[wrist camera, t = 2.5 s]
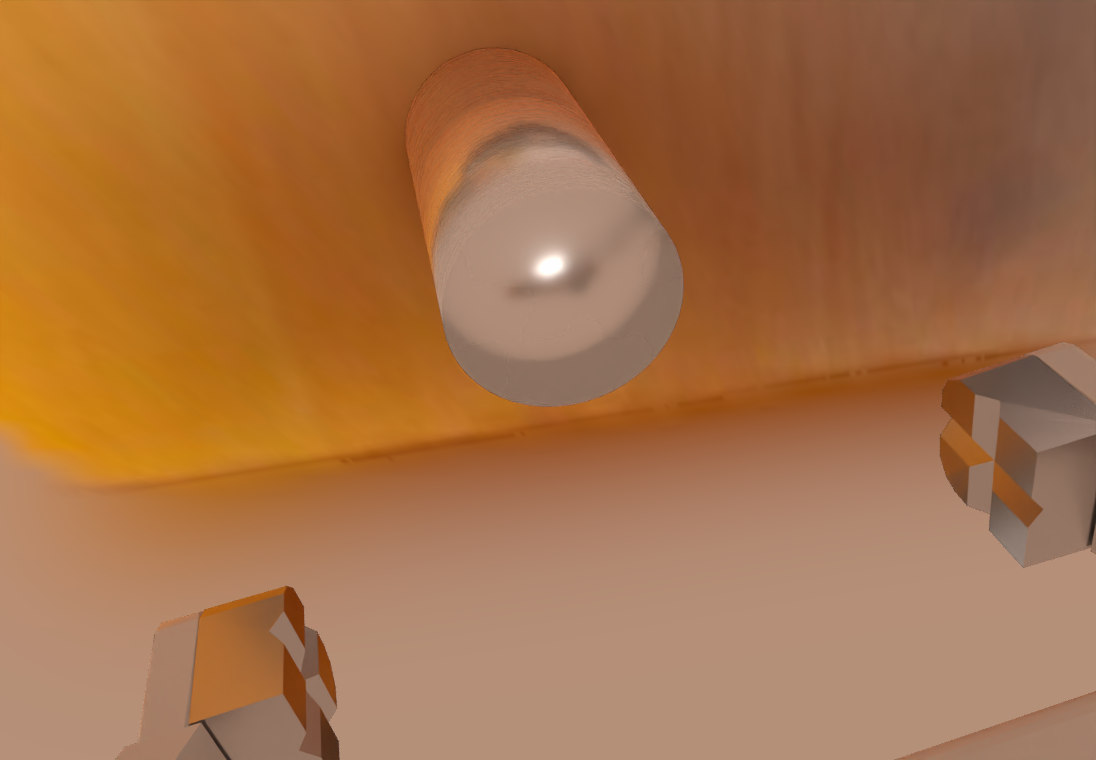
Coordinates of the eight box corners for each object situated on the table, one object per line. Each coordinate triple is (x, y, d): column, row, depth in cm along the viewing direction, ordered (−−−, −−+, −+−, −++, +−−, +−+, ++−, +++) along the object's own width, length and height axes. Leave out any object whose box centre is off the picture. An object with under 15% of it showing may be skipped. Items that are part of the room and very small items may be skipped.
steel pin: (560, 27, 21) (667, 159, 15) (591, 192, 23) (695, 370, 17) (383, 74, 21) (411, 229, 14) (431, 236, 23) (475, 432, 17)
